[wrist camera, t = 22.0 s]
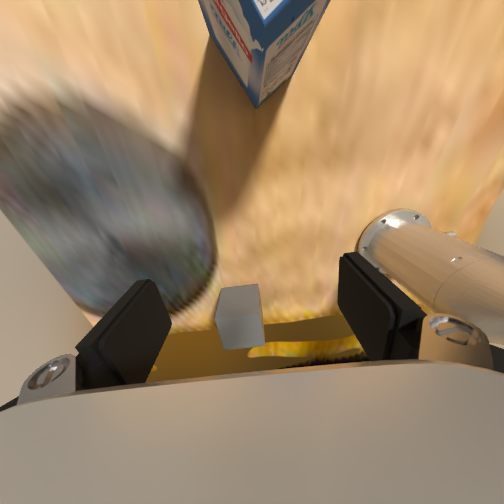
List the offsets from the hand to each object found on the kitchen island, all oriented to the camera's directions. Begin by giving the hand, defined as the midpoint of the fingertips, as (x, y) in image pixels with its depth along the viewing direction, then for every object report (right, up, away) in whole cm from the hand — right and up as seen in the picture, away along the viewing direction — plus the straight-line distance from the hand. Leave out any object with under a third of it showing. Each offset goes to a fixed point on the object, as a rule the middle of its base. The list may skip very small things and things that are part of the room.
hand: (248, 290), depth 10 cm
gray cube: (-2, -9, +33) cm, 34 cm away
